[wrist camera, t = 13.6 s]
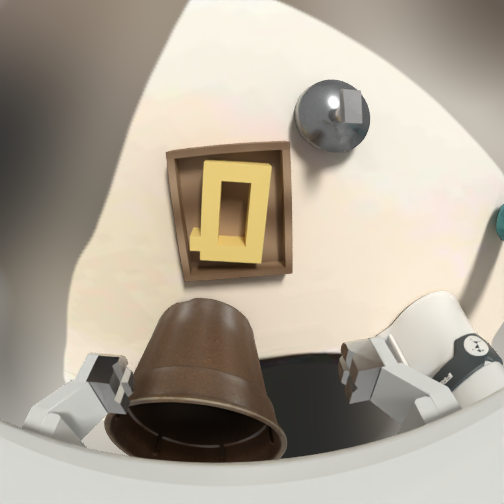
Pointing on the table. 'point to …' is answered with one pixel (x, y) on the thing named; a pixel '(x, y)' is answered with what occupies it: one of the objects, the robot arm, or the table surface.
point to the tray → (232, 208)
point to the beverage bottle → (500, 223)
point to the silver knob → (332, 116)
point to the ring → (208, 234)
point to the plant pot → (199, 392)
